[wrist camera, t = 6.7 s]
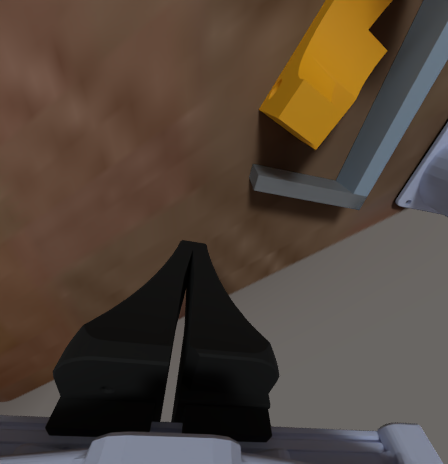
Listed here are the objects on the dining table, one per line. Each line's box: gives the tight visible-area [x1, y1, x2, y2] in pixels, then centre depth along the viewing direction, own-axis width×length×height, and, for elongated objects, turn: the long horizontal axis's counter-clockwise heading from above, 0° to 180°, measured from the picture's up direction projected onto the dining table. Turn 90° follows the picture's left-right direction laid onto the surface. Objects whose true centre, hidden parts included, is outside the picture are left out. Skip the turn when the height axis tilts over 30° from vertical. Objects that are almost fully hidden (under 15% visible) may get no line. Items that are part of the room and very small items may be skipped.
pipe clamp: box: [259, 0, 392, 150], centre depth 12 cm, size 12×4×6 cm, turn 148°
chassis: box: [249, 0, 448, 210], centre depth 14 cm, size 9×18×3 cm, turn 168°
